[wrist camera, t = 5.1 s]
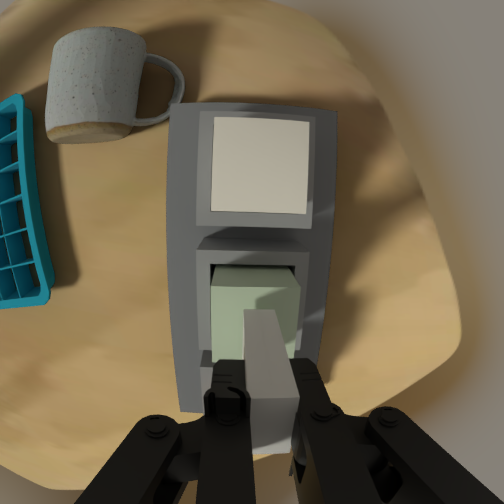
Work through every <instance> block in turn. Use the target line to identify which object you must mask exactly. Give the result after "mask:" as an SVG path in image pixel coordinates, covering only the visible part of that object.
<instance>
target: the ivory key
mask: <svg viewBox="0 0 504 504" xmlns="http://www.w3.org/2000/svg"><path fill="white" fill-rule="evenodd" d="M308 159H309V122H304V121H293V120H280V119H265V118H242V117H214V135H213V159H212V190H211V211H233V212H267V213H292V214H306V207H307V186H308Z"/></svg>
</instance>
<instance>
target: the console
mask: <svg viewBox="0 0 504 504" xmlns="http://www.w3.org/2000/svg"><path fill="white" fill-rule="evenodd" d="M214 117H242V118H265V119H280V120H293V121H304V122H309V159H308V186H307V207H306V214H292V213H267V212H233V211H211V190H212V159H213V135H214ZM336 168H337V111H331V110H324V109H316V108H307V107H298V106H287V105H274V104H257V103H225V102H206V103H173V104H171V106H170V120H169V136H168V156H167V193H166V233H167V270H168V291H169V307H170V321H171V334H172V345H173V355H174V365H175V374H176V382H177V390H178V398H179V405H180V412H192V413H203V415H205V413H204V400H203V396H204V394H205V392H206V391H207V390H208V389H210V388H211V380H212V372H213V366H214V365H215V363H216V362H212V339H211V283H212V279H213V275H214V271H215V267H216V264H246V265H287V266H288V268H289V269H290V271H291V272H292V274H293V276H294V277H295V279H296V280H297V282H298V284H299V285H300V287H301V292H300V302H299V313H298V323H297V332H296V342H295V350H294V358H309V359H310V360H311V361H312V362H313V363H314V364H316V367H317V361H318V355H319V348H320V342H321V335H322V328H323V321H324V313H325V306H326V297H327V289H328V280H329V270H330V260H331V249H332V238H333V224H334V210H335V192H336Z"/></svg>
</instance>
